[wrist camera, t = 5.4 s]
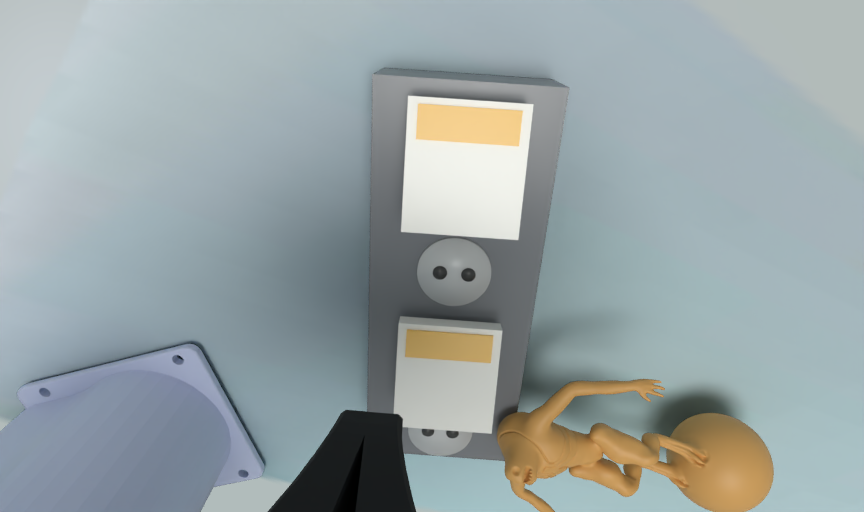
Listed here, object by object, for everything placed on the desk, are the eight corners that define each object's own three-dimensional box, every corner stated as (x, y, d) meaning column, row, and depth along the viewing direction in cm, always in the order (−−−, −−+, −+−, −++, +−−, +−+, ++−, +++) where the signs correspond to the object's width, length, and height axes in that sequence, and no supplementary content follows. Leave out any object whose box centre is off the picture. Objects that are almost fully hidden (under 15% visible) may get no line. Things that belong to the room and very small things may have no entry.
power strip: (502, 412, 24) (509, 466, 21) (376, 403, 25) (365, 455, 22) (551, 79, 18) (571, 88, 15) (384, 67, 19) (371, 74, 16)
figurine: (732, 549, 24) (523, 646, 18) (638, 442, 28) (447, 492, 22) (849, 423, 20) (631, 493, 14) (719, 322, 24) (512, 343, 18)
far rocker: (489, 416, 20) (491, 435, 19) (395, 410, 20) (392, 427, 19) (499, 318, 19) (502, 331, 18) (401, 312, 19) (398, 324, 18)
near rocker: (513, 232, 17) (518, 240, 16) (403, 224, 17) (400, 232, 16) (527, 105, 16) (534, 104, 15) (410, 97, 16) (408, 95, 15)
